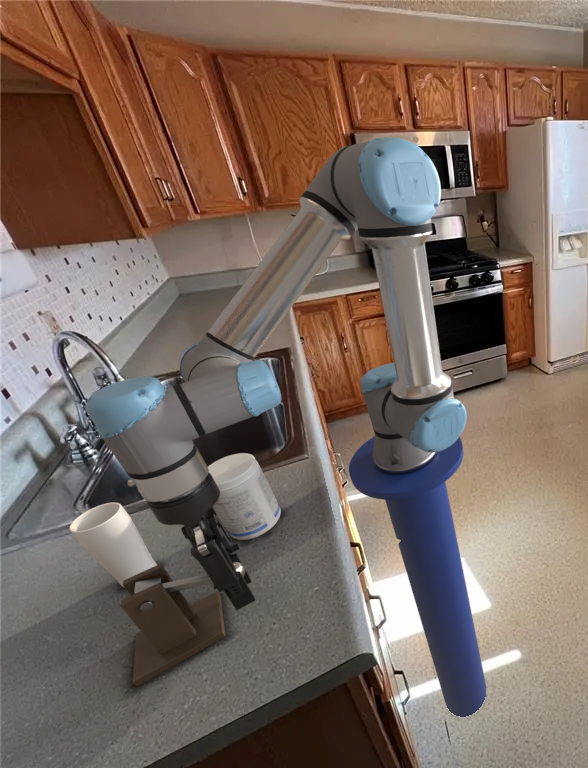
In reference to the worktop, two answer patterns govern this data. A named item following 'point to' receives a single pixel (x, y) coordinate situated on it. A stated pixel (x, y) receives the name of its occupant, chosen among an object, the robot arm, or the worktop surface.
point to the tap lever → (182, 581)
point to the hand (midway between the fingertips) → (244, 593)
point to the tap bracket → (168, 624)
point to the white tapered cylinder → (112, 541)
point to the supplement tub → (244, 496)
